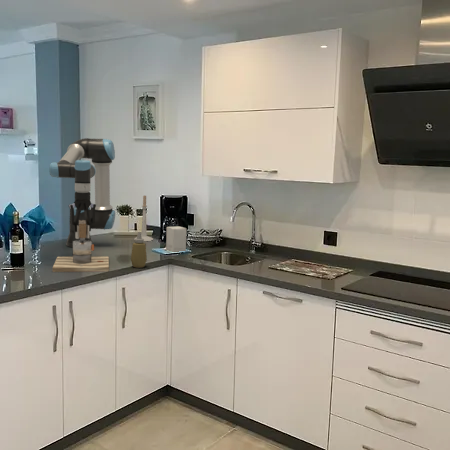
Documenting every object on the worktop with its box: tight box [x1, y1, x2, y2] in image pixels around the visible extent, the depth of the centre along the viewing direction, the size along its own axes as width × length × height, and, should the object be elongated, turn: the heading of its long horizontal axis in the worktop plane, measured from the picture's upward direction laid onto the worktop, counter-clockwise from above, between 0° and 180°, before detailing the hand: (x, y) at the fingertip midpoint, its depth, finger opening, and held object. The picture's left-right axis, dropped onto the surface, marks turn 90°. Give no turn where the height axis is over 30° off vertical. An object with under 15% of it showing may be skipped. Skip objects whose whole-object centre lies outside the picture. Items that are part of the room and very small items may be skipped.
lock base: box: [52, 253, 110, 273], centre depth 258 cm, size 26×26×6 cm
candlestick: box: [133, 195, 154, 242], centre depth 337 cm, size 13×13×30 cm
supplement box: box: [165, 226, 187, 252], centre depth 302 cm, size 9×9×15 cm
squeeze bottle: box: [130, 231, 148, 268], centre depth 261 cm, size 8×8×18 cm
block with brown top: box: [72, 220, 95, 255], centre depth 257 cm, size 10×12×16 cm
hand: (82, 238), depth 257 cm, fingers closed on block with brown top, 5 cm apart
